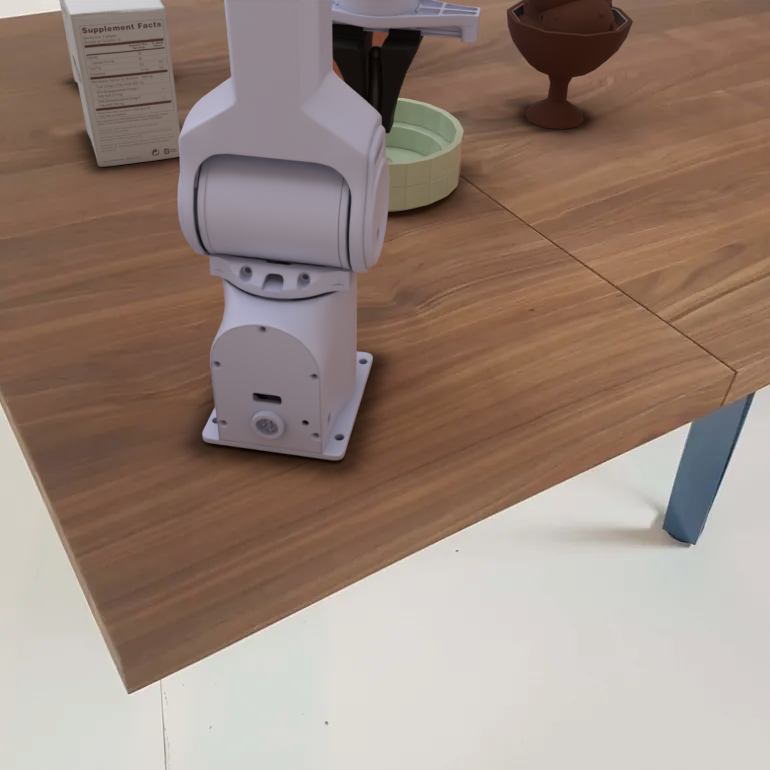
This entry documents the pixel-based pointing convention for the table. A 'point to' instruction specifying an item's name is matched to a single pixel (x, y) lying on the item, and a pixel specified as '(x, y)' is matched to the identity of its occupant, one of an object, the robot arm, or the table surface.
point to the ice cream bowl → (565, 48)
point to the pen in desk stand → (375, 80)
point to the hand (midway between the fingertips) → (375, 127)
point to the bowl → (422, 154)
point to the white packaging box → (124, 78)
